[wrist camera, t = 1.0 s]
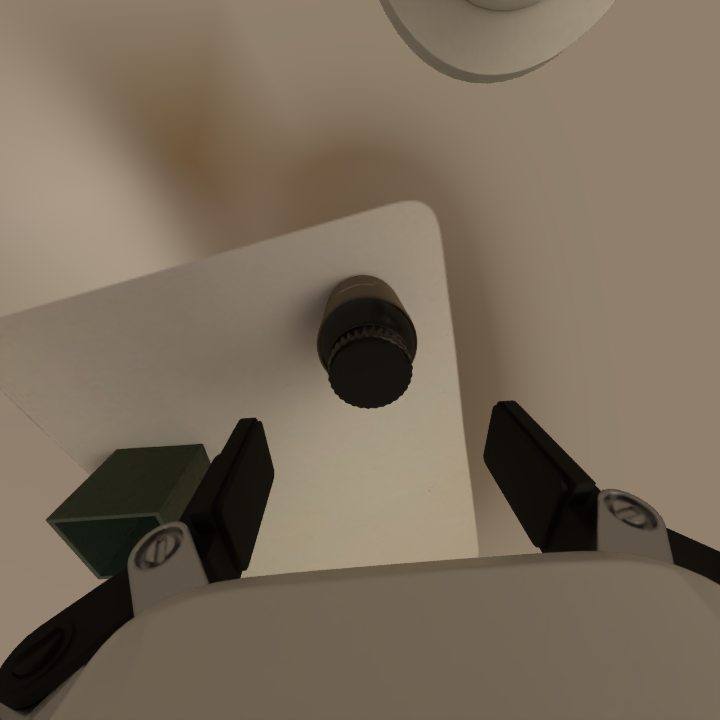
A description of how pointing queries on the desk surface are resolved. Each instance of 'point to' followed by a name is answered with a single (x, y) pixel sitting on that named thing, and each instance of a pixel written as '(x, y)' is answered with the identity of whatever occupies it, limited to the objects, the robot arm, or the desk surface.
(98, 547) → the open box
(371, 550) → the desk surface
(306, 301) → the desk surface
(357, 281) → the supplement bottle
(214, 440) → the desk surface
